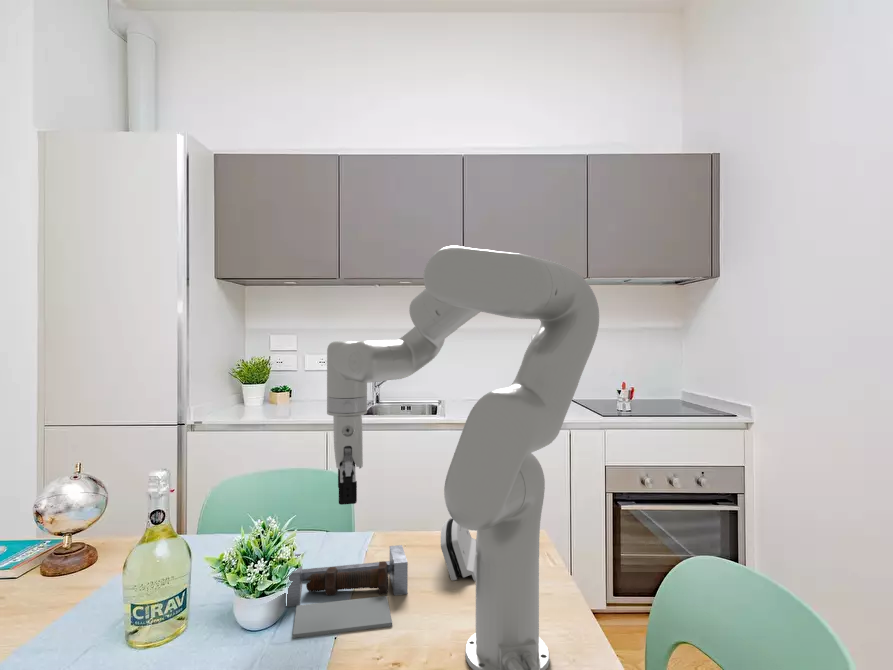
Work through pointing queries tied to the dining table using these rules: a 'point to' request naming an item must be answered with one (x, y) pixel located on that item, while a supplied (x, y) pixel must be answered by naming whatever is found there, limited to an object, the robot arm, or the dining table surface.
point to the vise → (395, 567)
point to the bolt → (349, 580)
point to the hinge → (458, 550)
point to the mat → (341, 616)
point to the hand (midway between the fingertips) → (346, 495)
